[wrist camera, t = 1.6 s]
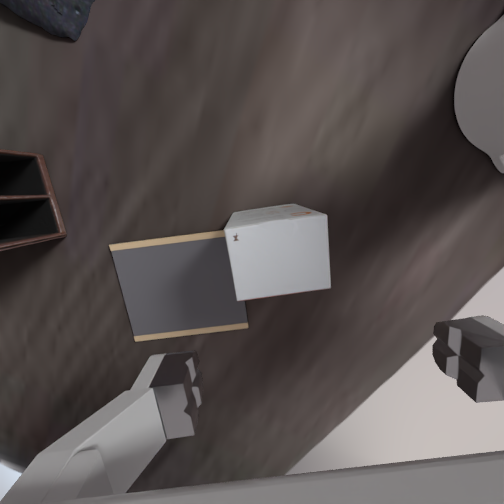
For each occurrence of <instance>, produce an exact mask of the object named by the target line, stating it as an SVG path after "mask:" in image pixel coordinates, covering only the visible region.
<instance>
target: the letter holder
mask: <svg viewBox="0 0 504 504" xmlns="http://www.w3.org/2000/svg"><path fill="white" fill-rule="evenodd" d="M66 236H67V234H66V230H65V226H64V223H63V220H62V216H61V213H60V210H59V206H58V203H57V200H56V196H55V193H54V190H53V187H52V183H51V180H50V176H49V174H48V170H47V167H46V163H45V160H44V157H43V155H41V154H37V153H28V152H19V151H11V150H1V149H0V251H3V250H8V249H12V248H17V247H21V246H26V245H30V244H35V243H40V242H44V241H48V240H52V239H57V238H63V237H66Z"/></svg>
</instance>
